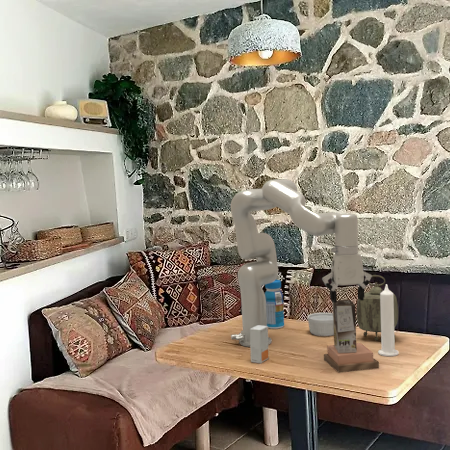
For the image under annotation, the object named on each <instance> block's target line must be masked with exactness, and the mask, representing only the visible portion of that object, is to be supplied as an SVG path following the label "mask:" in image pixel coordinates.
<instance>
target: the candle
mask: <svg viewBox="0 0 450 450" xmlns="http://www.w3.org/2000/svg"><path fill="white" fill-rule="evenodd" d="M383 289H384V290H383V292H381V293H380V306H381V332H380V335H381V336H380V337H381V339H380V341H381V349H378V351H377V354H378V355H380V356H382V357H396V356H399V353H400V352H399V350H397V349H396V348H395V347H396V344H395V342H396V341H395V338H394V335H395V328H394V298H393V294H394V292H392V291H391V290H390V289H389V286H388V284H387V283H386V284H385V286H384V288H383Z"/></svg>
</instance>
